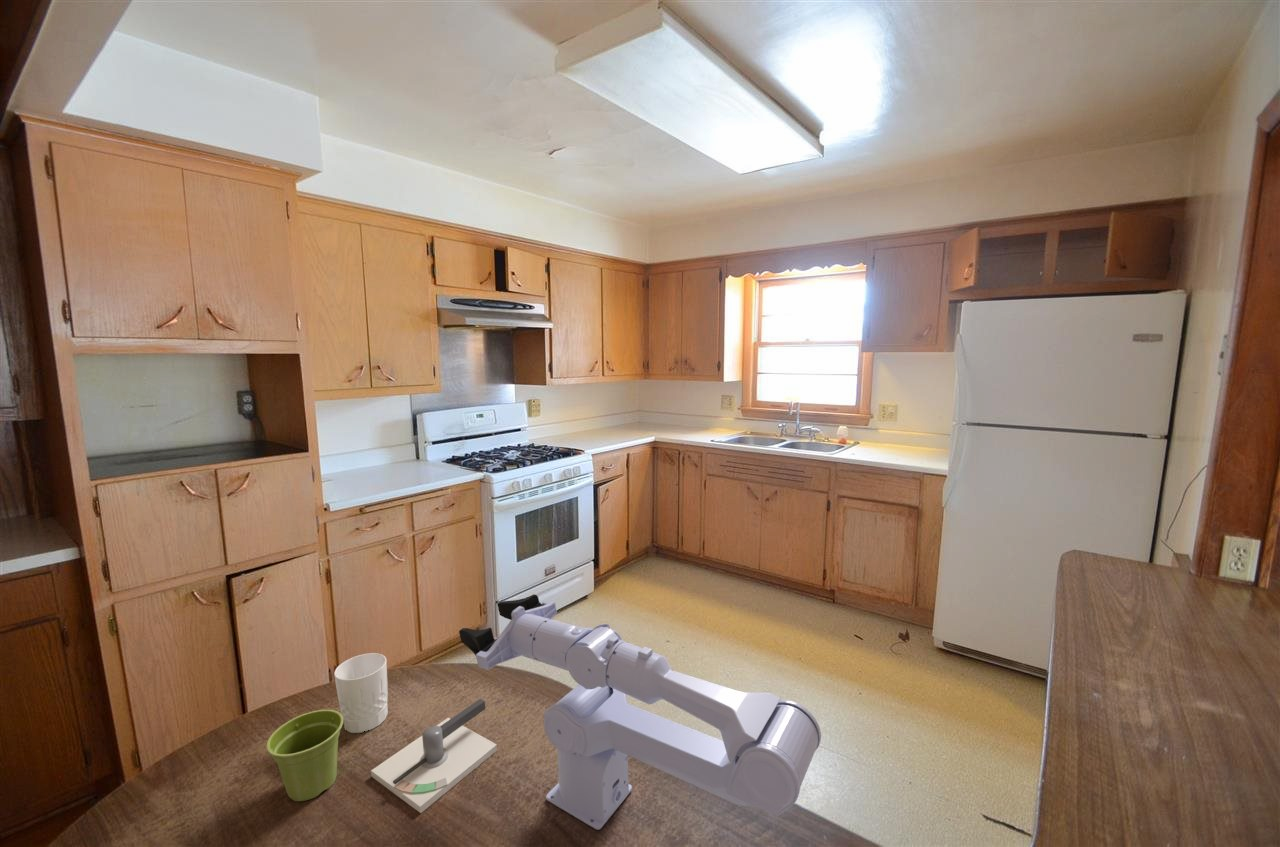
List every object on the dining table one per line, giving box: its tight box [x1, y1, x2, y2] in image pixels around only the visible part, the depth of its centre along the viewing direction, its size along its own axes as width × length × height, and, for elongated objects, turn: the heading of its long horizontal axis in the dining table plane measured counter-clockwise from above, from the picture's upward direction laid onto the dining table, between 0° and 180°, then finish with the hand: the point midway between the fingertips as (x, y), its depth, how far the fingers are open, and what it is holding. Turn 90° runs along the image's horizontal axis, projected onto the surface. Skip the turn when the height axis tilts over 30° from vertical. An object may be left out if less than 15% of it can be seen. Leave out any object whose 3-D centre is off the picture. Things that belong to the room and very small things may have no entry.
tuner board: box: [370, 717, 498, 814], centre depth 80 cm, size 12×14×1 cm
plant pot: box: [266, 709, 344, 802], centre depth 76 cm, size 9×9×9 cm
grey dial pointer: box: [393, 698, 486, 784], centre depth 81 cm, size 16×3×4 cm, turn 147°
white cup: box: [333, 652, 389, 734], centre depth 90 cm, size 8×8×10 cm
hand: (481, 621), depth 82 cm, fingers open, 7 cm apart
